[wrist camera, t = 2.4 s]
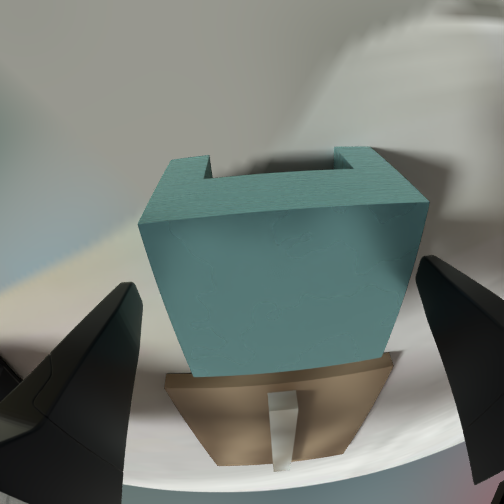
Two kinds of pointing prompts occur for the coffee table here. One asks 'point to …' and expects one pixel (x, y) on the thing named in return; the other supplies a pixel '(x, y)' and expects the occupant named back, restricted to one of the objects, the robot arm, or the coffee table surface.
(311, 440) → the rail plate
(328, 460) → the coffee table surface
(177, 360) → the coffee table surface
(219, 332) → the block
